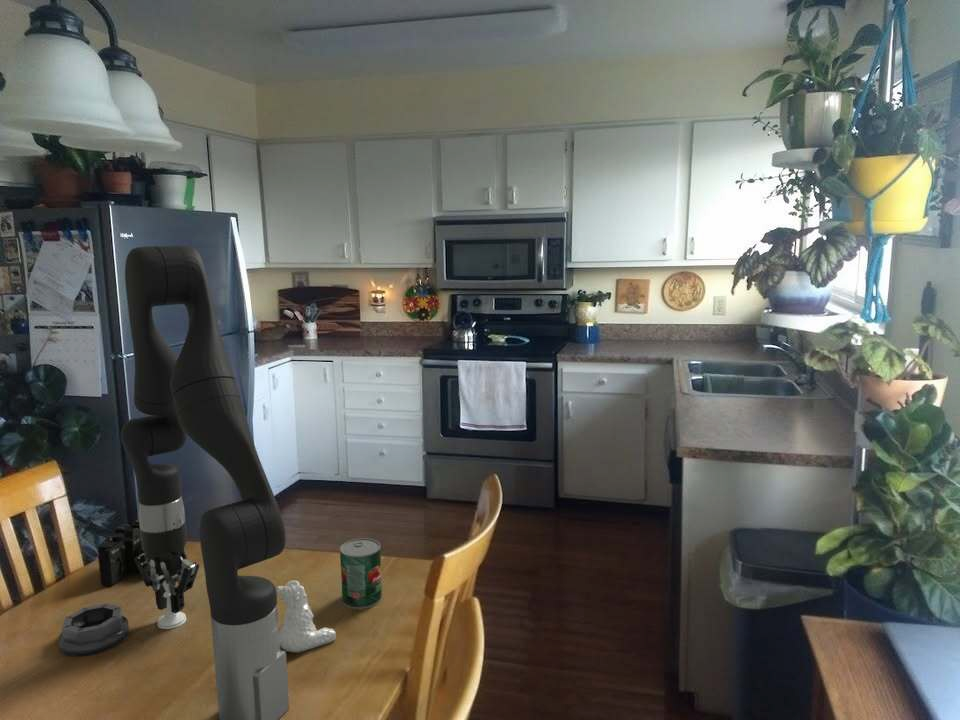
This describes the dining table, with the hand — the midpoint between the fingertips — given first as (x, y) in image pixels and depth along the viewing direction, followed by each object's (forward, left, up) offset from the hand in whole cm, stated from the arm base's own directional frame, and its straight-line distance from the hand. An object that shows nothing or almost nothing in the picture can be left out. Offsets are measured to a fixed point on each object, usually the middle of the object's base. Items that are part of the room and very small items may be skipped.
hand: (170, 609), depth 127 cm
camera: (+22, -12, -3) cm, 25 cm away
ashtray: (+9, +9, -3) cm, 13 cm away
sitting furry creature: (-27, -3, -3) cm, 27 cm away
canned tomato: (-29, -20, -3) cm, 35 cm away
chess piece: (0, 0, -3) cm, 3 cm away
